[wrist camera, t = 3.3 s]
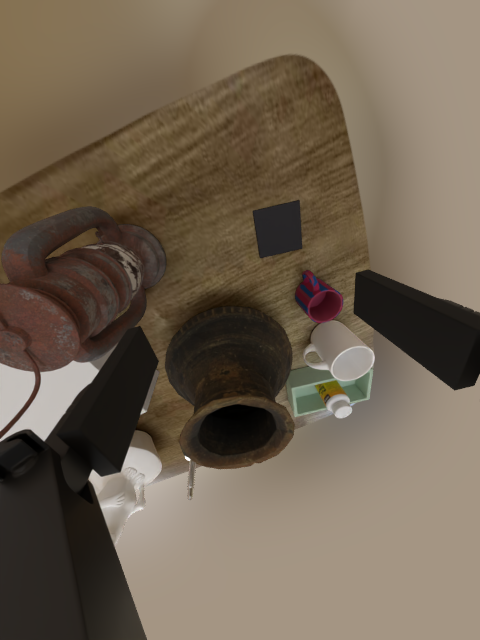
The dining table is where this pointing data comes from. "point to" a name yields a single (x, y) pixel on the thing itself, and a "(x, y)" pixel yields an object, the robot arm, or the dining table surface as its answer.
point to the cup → (318, 298)
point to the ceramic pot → (232, 386)
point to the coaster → (278, 229)
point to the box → (47, 394)
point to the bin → (307, 396)
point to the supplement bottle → (334, 398)
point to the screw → (191, 478)
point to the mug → (339, 351)
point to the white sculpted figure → (127, 483)
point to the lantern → (72, 291)
